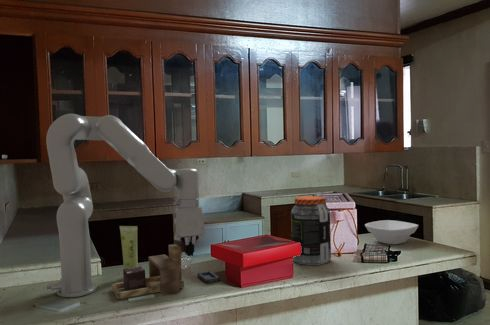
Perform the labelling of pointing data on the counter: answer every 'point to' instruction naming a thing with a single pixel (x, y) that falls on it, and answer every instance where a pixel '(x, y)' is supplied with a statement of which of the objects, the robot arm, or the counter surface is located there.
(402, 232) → the bowl
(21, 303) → the counter surface
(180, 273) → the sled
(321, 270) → the counter surface
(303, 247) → the supplement tub
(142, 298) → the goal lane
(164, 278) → the tunnel
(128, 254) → the tube
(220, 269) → the counter surface
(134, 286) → the box
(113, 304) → the counter surface
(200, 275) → the pit tray
